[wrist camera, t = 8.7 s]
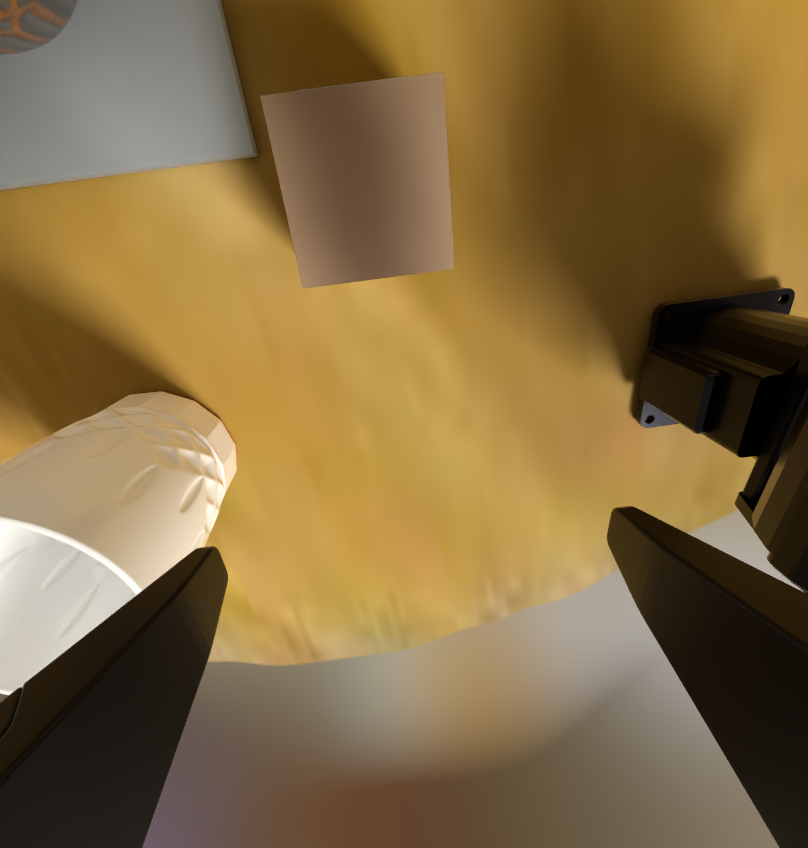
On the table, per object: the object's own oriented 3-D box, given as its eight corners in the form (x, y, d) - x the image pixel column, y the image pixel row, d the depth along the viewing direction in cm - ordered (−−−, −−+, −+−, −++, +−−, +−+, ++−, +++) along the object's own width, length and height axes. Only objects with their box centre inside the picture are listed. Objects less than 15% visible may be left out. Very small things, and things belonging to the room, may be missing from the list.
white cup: (115, 347, 18) (-141, 463, 9) (275, 428, 20) (196, 584, 11) (69, 471, 21) (-165, 656, 12) (215, 530, 23) (113, 722, 14)
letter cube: (422, 113, 15) (443, 62, 11) (433, 259, 17) (454, 268, 13) (292, 129, 15) (257, 86, 10) (321, 273, 17) (302, 288, 13)
